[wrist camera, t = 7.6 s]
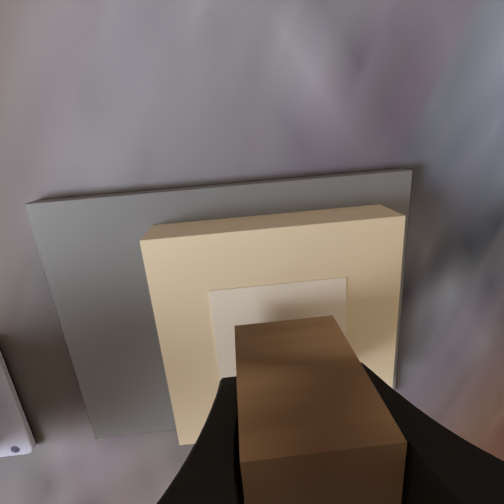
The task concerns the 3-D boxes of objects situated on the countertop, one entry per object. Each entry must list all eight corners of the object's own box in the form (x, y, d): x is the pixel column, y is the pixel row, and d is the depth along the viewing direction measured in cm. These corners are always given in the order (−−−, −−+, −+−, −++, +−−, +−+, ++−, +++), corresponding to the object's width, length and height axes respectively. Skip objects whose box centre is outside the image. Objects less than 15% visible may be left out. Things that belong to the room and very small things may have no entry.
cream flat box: (101, 425, 21) (76, 481, 17) (35, 200, 16) (-15, 217, 13) (386, 392, 22) (416, 440, 18) (402, 168, 17) (445, 176, 14)
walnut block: (242, 404, 15) (253, 570, 9) (234, 325, 14) (239, 462, 8) (332, 394, 15) (396, 550, 9) (332, 315, 14) (407, 442, 8)
